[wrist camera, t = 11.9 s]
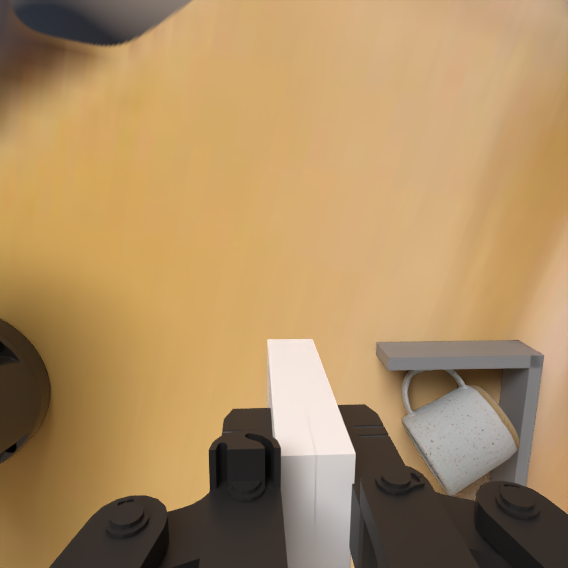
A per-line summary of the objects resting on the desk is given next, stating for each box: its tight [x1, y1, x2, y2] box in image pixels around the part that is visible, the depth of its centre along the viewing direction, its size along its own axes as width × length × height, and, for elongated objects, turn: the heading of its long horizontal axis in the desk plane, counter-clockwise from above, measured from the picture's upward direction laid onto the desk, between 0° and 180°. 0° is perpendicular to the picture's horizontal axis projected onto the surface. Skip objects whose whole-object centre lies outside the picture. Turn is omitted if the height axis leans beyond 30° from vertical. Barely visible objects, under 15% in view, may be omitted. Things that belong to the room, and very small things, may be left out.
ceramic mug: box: [401, 369, 519, 496], centre depth 41 cm, size 11×8×8 cm
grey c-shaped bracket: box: [376, 340, 544, 487], centre depth 44 cm, size 14×19×4 cm
